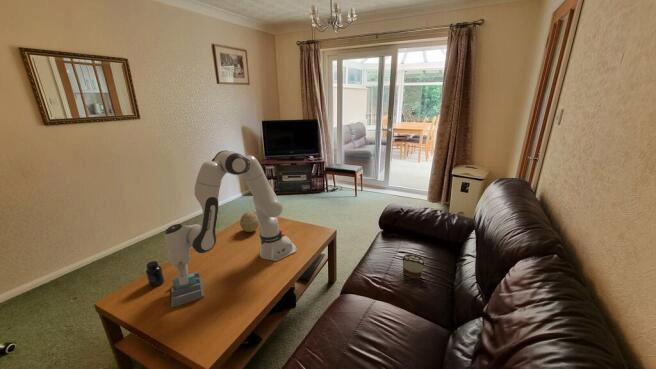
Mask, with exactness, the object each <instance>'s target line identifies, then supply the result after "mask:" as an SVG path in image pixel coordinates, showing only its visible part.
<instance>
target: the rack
mask: <svg viewBox="0 0 656 369" xmlns="http://www.w3.org/2000/svg"><path fill="white" fill-rule="evenodd" d="M193 273H194V275H195V279H196V284H195V285H191V286H188V287H185V288H181V289H178V290H176V289H175V285H174V279H176V278H177V277H175V278H172V283H173V284H172V285H171V300H170V304H171V305H170V307H171V308H176V307H178V306H182V305H184V304H189V303H190V302H194V301H199V300H200V299H204V298H205V294H204V293H205V292H204V286H203V278H202V276H200V273H199V271H197V272H193ZM193 273H191V274H193ZM189 274H190V273H188V275H189Z"/></svg>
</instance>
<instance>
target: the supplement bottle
mask: <svg viewBox="0 0 656 369" xmlns="http://www.w3.org/2000/svg"><path fill="white" fill-rule="evenodd" d="M145 274H146V278H147V281H148V285H149V287H152V288H156V287H159V286H161V285H163V283H164V282H165V277H164V273H163V270H162V266H161V265H159V263H158V261H156V260H153V261H149V262H148V263H147V264H146V270H145Z"/></svg>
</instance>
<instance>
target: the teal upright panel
mask: <svg viewBox="0 0 656 369" xmlns="http://www.w3.org/2000/svg"><path fill="white" fill-rule="evenodd" d="M194 273H195V272H193V274H192V273H188V274H189V275H188V284H186V285H182V286H180V284H179V280H178V277H175V278H176V279H174V278H173V279H174V284H173V285H175V289H176V290H178V289H181V288H185V287H188V286H191V285H195V284H196V279H195V275H194Z"/></svg>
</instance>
